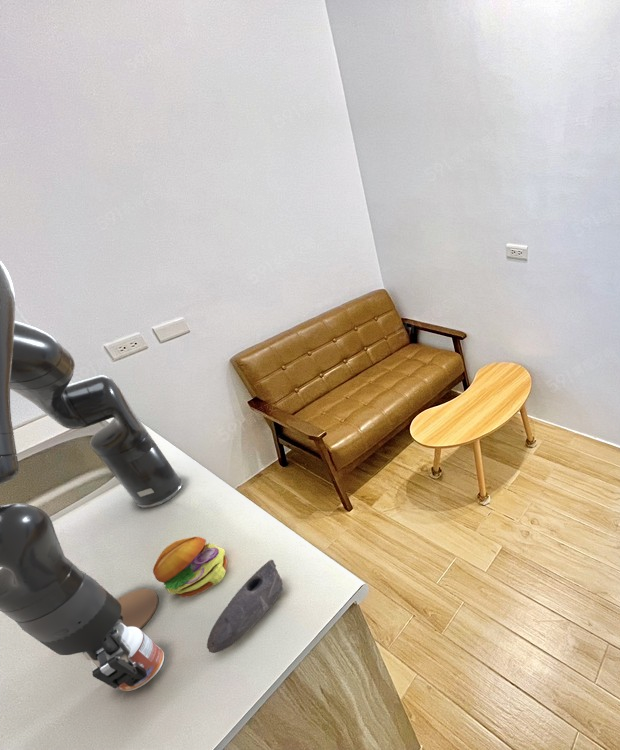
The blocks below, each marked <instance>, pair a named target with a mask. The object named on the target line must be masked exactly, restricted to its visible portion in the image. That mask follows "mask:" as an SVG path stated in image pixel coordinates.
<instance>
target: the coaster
mask: <svg viewBox="0 0 620 750" xmlns="http://www.w3.org/2000/svg"><path fill="white" fill-rule="evenodd" d="M116 600H117V601H118V602H119V603H120V604H121V608H122V610H121V615H122V616H123V623H124V624H125V625H126V626H127V627H137V628H139V629H140V630H142V628H144V627H145V626H146V624H148V622H149V621H150V620H151V619H152V617H153V616H154V614H155V612H156V610H157V609H158V605H159V595H158V594H157V592H156V591H154V590H152V589H150V588H149V589H148V588H142V589H137V590H134V591H130V592H128V593H126V594H123V595H122V596H120V597H119V598H117V599H116Z"/></svg>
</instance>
